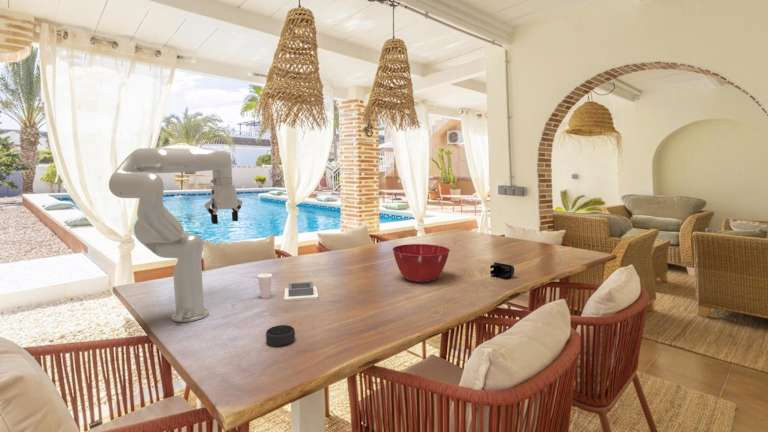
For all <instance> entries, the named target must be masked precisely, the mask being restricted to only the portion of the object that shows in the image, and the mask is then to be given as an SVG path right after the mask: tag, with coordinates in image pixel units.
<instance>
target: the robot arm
mask: <svg viewBox="0 0 768 432" xmlns="http://www.w3.org/2000/svg"><path fill="white" fill-rule="evenodd" d="M232 160H233V159H232V156H231V154H230V153H229V152H227V151H226V150H205V149H194V148H193V149H192V148H191V149H190V148H172V147H171V148H169V147H168V148H167V147H154V148H153V147H148V148H146V147H143V148H136V149H135V150H133V151H132V152H131V153H130V154H128V155H127V157H125V159H124V160H123V161H122V162H121V163H120V164H119V166H118V167H117V168H116V169H115V171H114V172H113V173H112V174H111V176H110V178H109V181H108V189H109V191H110V192H111V194H112V195H113V196H115V197H116V198H117V197H118V198H120V199H139V200H138V205H137V211H136V215H137V220H136V221H135V222H134V226H133V232H134V236H135V237H136V238H135V239H137V241H138V242H139V243H140V244H142V245H143V246H144V247H145V248H146V249H148V250H149V251H150V252H152V253H153V254H154V255H156V256H158V257H160V258H164V259H176V260H177V262H176V264H175V266H174V268H173V272H172V274H173V286H174V287H173V289H174V302H175V312H174V313H172V315H171V321H174V322H177V323H188V322H194V321H198V320H201V319H204V318H206V317H207V316H208V315H209V309H207V308H205V305H204V303H205V301H204V287H203V286H204V285H203V269H202V266H203V265H202V261H203V259H202V257H203V251H204V241H203V239H202V238H201V236H200V235H198V234H196V233H192V232H185V229H184V226H183V225H182V223H181V222H180V220H178V219H177V218H176V217H175V216H174V215H173V214H172V213H171V212H170V210H168V209H167V207H165V205H164V198H163V197H164V190H165V186H164V182H163V179H162V178H161V176H160V175H158V174H172V173H197V172H207V171H212V179H210V183H211V184H213V185H211V192H210V200H209V201H208V202H206V203H204V205H203V206H204V208H205V210H206V211H207V213H209V215H210V217H211V218H210V219H211V224H212V225H218V224H219V221H218V214H217V213H218V211H219V210H229V209H230V210H232V211H231V220H232V221H233V222H239V212H240V209H241V208H242V205H243V201H242V200H240V199H238V194H237V189H236V186H235V185H234V184H233V171H232V169H233V168H232Z"/></svg>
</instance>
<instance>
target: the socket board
mask: <svg viewBox="0 0 768 432" xmlns="http://www.w3.org/2000/svg"><path fill="white" fill-rule="evenodd" d="M318 299H319V295H318V289H317V286H315V285H314V284H313V281H305V282H304V281H303V282H292V283H290V282H289V283H288V287H286V288H284V297H283V300H284V302H294V301H307V300H318Z"/></svg>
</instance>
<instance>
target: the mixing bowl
mask: <svg viewBox="0 0 768 432" xmlns="http://www.w3.org/2000/svg"><path fill="white" fill-rule="evenodd" d="M392 252H393V257H394V259H395V262H396V266H397V268H398V270H399V272H400V274H401V275H402V276H403V278H405V279H407V280H408V281H410V282H414V283H421V284H422V283H430V282H433V281H434V280H436V279H437V278H439V277H440V275H441V274H442V272H443V270H444V268H445V265H446V264H447V260H448V257H449V253H450V252H451V249H450V248H448V247H446V246H443V245H437V244H430V243H429V244H428V243H427V244H426V243H408V244H400V245H396V246H394V247H393V248H392Z"/></svg>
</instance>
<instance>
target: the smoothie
mask: <svg viewBox="0 0 768 432" xmlns="http://www.w3.org/2000/svg"><path fill="white" fill-rule="evenodd" d="M257 279H258V280H257V281H258V287H259V293H260V297H261V299H269V298H271V292H272V291H271V290H272V280H273V274H272V273H267V265H266V264H265V265H264V273H260V274H257Z"/></svg>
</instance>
